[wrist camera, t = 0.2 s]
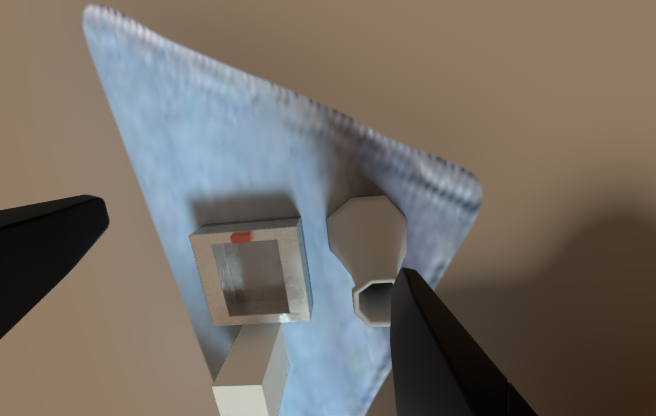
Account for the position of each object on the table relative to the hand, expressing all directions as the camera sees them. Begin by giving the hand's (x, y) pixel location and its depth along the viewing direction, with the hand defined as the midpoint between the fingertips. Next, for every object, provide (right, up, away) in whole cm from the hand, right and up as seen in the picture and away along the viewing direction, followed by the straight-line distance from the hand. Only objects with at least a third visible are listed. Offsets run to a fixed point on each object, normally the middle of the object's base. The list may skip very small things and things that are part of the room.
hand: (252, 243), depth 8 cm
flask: (+6, -1, +16) cm, 17 cm away
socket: (-4, -4, +18) cm, 19 cm away
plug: (-4, -13, +20) cm, 25 cm away
